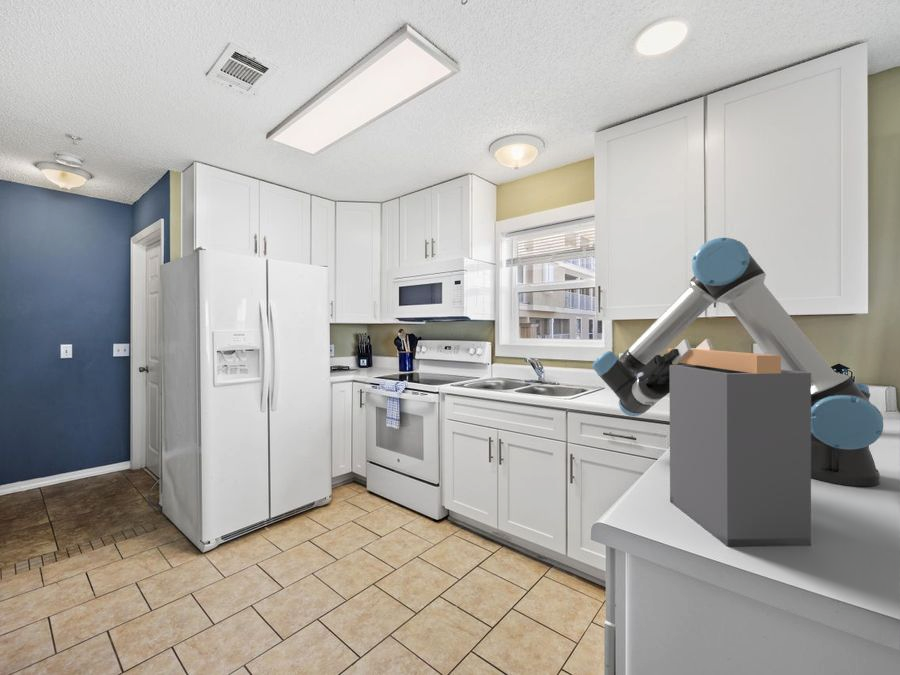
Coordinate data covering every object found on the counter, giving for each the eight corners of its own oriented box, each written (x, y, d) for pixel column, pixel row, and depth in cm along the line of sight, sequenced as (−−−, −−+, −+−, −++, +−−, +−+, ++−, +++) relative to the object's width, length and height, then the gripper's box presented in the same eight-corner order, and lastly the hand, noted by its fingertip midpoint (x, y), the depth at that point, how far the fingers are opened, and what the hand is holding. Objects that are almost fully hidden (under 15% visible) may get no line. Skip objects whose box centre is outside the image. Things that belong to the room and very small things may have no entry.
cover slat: (668, 361, 97) (668, 348, 96) (685, 360, 97) (685, 348, 96) (756, 373, 69) (756, 355, 68) (781, 373, 69) (781, 355, 68)
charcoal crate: (736, 500, 87) (736, 364, 86) (810, 545, 69) (811, 372, 68) (670, 501, 87) (669, 365, 87) (727, 546, 69) (726, 374, 69)
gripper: (689, 399, 106) (745, 359, 86) (623, 400, 106) (663, 360, 86) (680, 372, 110) (732, 328, 90) (617, 373, 110) (654, 329, 90)
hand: (698, 344), depth 88 cm, fingers closed on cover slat, 4 cm apart
